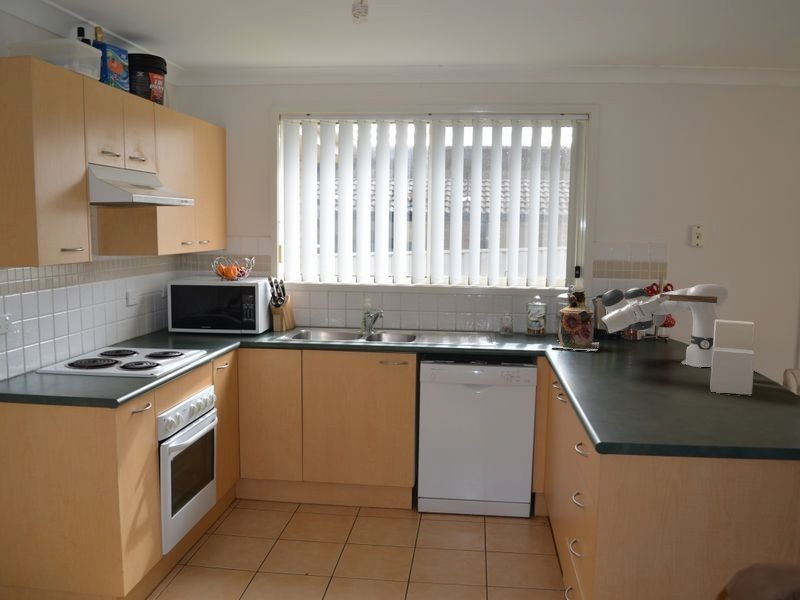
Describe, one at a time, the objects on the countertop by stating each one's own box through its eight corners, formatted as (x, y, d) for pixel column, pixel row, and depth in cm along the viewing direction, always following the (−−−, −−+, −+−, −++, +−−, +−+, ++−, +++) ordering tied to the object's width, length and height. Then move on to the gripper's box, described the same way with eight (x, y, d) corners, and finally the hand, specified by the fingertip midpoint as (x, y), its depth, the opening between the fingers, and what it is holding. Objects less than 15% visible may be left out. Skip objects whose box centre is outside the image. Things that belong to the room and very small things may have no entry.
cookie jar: (554, 343, 370) (556, 287, 367) (599, 346, 362) (602, 289, 360) (550, 350, 347) (552, 290, 344) (598, 353, 339) (601, 292, 336)
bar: (659, 299, 278) (659, 293, 278) (716, 302, 270) (717, 296, 270) (659, 300, 276) (659, 294, 275) (716, 303, 267) (717, 297, 267)
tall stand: (710, 380, 277) (714, 319, 274) (748, 383, 271) (752, 321, 269) (711, 384, 267) (716, 322, 265) (750, 388, 262) (754, 324, 260)
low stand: (709, 387, 262) (712, 347, 261) (749, 391, 257) (752, 350, 255) (710, 392, 253) (713, 350, 252) (751, 396, 248) (754, 353, 246)
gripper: (643, 314, 290) (673, 300, 285) (640, 319, 271) (672, 305, 266) (636, 302, 291) (666, 287, 285) (633, 306, 272) (665, 291, 267)
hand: (669, 296), depth 275 cm, fingers closed on bar, 3 cm apart
